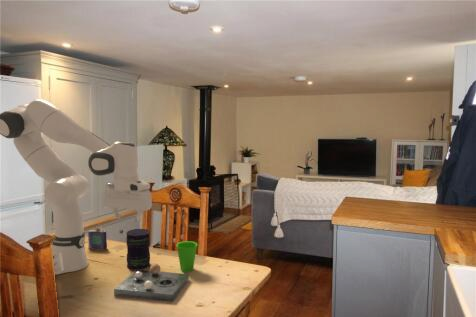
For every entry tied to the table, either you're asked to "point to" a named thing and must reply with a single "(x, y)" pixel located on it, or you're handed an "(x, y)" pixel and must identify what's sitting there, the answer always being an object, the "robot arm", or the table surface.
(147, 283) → the plastic ball
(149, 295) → the plate
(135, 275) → the steel ball
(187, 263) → the cup
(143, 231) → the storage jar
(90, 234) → the flask
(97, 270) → the table surface
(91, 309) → the table surface
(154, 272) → the wood ball
